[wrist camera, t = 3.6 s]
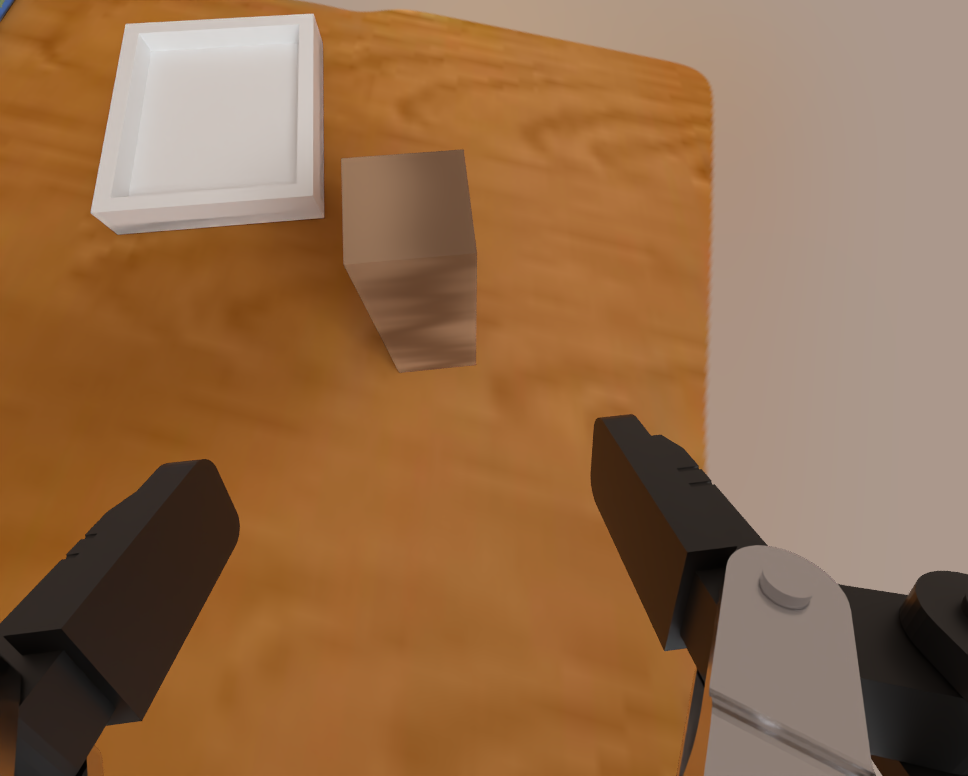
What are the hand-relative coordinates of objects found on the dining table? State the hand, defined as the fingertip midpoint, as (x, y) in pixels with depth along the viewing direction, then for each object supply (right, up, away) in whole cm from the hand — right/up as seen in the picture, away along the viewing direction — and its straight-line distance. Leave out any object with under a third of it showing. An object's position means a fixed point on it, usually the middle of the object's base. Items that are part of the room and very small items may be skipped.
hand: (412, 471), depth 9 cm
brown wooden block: (-1, +5, +16) cm, 17 cm away
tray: (-16, +20, +21) cm, 33 cm away
